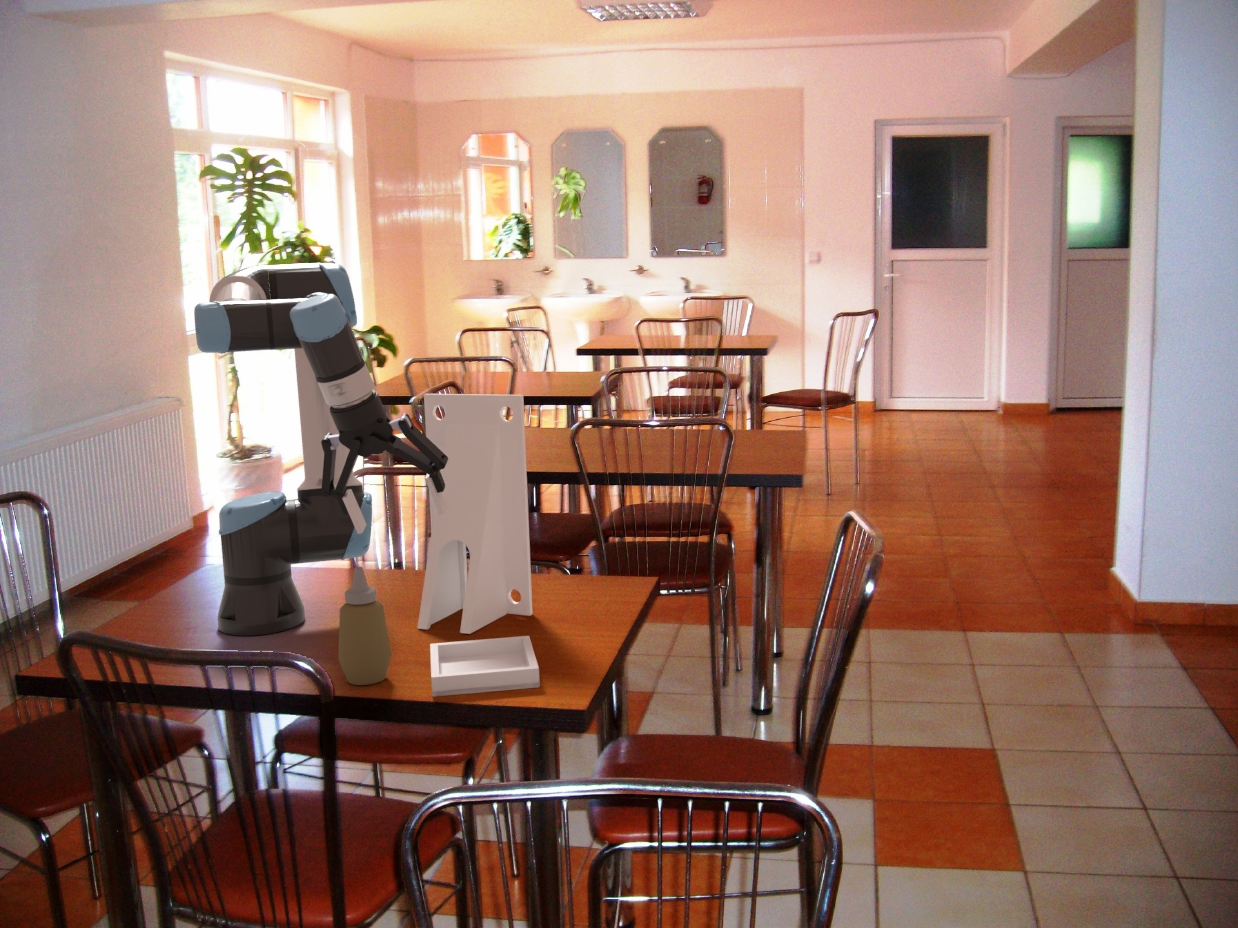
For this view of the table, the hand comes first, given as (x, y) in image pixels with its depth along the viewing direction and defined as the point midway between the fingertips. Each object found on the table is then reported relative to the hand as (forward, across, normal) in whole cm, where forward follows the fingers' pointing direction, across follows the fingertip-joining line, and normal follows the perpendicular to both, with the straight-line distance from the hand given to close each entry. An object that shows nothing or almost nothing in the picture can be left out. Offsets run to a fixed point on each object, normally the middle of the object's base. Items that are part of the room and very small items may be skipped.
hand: (402, 520), depth 186 cm
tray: (+25, +6, -9) cm, 27 cm away
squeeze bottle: (+20, -11, -11) cm, 26 cm away
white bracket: (+31, -4, +18) cm, 36 cm away
